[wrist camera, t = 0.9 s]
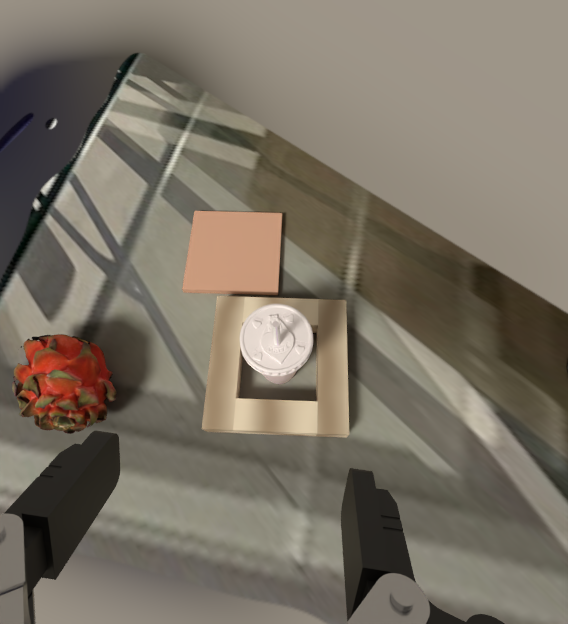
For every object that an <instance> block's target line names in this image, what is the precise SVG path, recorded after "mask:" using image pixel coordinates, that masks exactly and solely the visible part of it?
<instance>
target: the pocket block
mask: <svg viewBox="0 0 568 624" xmlns="http://www.w3.org/2000/svg"><path fill="white" fill-rule="evenodd" d="M269 304H284V305H288V306H291V307H293V308H295V309H297V310H298V311H300V312H301V313H302V314H303V315H304V316H305V317H306V318H307V320H308V321H309V323H310V325H311V328H312V332H313V333H317V353H316V401H292V400H266V399H241V398H239V395H240V384H241V372H242V360H243V355H242V351H241V347H240V332H241V328H242V326H243V323H244V322H245V320H246V319H247V317H248V316H249V315H250V314H251V313H252V312H254V311H255V310H257V309H258V308H260V307H263V306H265V305H269ZM202 429H203V430H205V431H206V432H225V433H250V434H274V435H298V436H323V437H347V436H348V435H349V403H348V359H347V315H346V300H329V299H298V298H266V297H234V296H217V304H216V312H215V321H214V329H213V337H212V346H211V354H210V363H209V371H208V380H207V388H206V397H205V405H204V414H203V422H202Z"/></svg>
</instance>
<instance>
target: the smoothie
mask: <svg viewBox="0 0 568 624" xmlns="http://www.w3.org/2000/svg"><path fill="white" fill-rule="evenodd" d="M240 347H241V351H242V355H243V357H244V358H245V360H246V361H247V363H248V364H249V365H250V366H251V367H252V368H253V369H254V370H256V371H258V372H260V373H262V374H263V375H264V376H265V378H266V379H267V380H269V381H270V382H272V383H275V384H283V383H286V382H288V381H289V380H291V379H292V378H293V376H294V375H295V373H296V371H297V370H298V369H299V368H301V367H302V366H303V365H304V364H305V362H306V361H307V360H308V358H309V356H310V354H311V352H312V348H313V332H312V328H311V325H310V323H309V321H308V320H307V318H306V317H305V316H304V315H303V314H302V313H301V312H300V311H298V310H297V309H295V308H293V307H291V306H288V305H284V304H269V305H265V306H263V307H260V308H258V309H257V310H255V311H254V312H252V313H251V314H250V315H249V316H248V317H247V319H246V320H245V322H244V323H243V326H242V328H241V332H240Z"/></svg>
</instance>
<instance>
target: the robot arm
mask: <svg viewBox="0 0 568 624" xmlns="http://www.w3.org/2000/svg"><path fill="white" fill-rule="evenodd" d="M567 370H568V366H567ZM119 475H120V453H119V437H118V435H117V434H115V433H108V432H101V431H94V432H92V433H91V434H90V435H89V436H88V438H87V439H86V440H85V441H84V442H83V443H82V445H80V444H74V445H72V446H71V447H69V448H67V449H66V450H64V451H62V452H61V453H59V454H58V456H57V457H56V458H55V459H54V460H53V461H52V462H51V463H50V464H49V467H46V469H45V470H44V471H43V472H42V473H41V474H40V476H39V477H37V478H36V479H35V480H34V482H33V483H32V484H31V485H30V486H29V487H28V488H27V489H26V490H25V491H24V492H23V493H22V495H21V496H20V497H19V498H18V499H17V500H16V501H15V502H14V503H13V504H12V505H11V506H10V508H9V509H8V510H7V511H6V512H5V513H4V514H0V624H36V622H35V604H34V590H33V589H34V587H35V586H36V584H37V583H38V581H39V580H40V579H41V577H42V578H49V579H55V580H56V578H57V577H58V575H59V573H60V572H61V571H62V569H63V568H64V566H65V564H66V563H67V561H68V560H69V558H70V557H71V555H72V554H73V552H74V551H75V549H76V547H77V546H78V544H79V543H80V541H81V540H82V538H83V537H84V535H85V534H86V532H87V530H88V529H89V527H90V526H91V524H92V523H93V521H94V520H95V518H96V516H97V515H98V513H99V512H100V510H101V509H102V507H103V506H104V504H105V503H106V501H107V499H108V498H109V496H110V495H111V493H112V492H113V490H114V488H115V487H116V484H117V482H118V479H119ZM341 529H342V545H343V560H344V576H345V591H346V607H347V623H346V624H504V623H503V622H501V621H500V620H498V619H496V618H494V617H492V616H488V615H484V614H477V615H473V616H472V617H470V618H469V619H468V620H467V622H465V621H462V620H460V619H458V618H456V617H454V616H452V615H450V614H448V613H446V612H444V611H442V610H440V609H439V608H437V607H436V606H434V605H433V604H432V603H431V602H430V601H428V599H427V597H426V595H425V593H424V592H423V590H422V589H421V588H420V587H419V585H418V584H417V583H416V581H415V578H414V574H413V570H412V566H411V562H410V557H409V553H408V549H407V545H406V541H405V536H404V533H403V528H402V524H401V521H400V515H399V511H398V507H397V503H396V502H395V500H394V499H393V497H392V496H391V495H390V493H389V492H388V490H383V489H376V486H375V481H374V475H373V472H372V471H366V470H359V469H352V468H350V470H349V473H348V478H347V483H346V488H345V493H344V498H343V503H342V511H341Z"/></svg>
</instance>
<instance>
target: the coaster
mask: <svg viewBox="0 0 568 624" xmlns="http://www.w3.org/2000/svg"><path fill="white" fill-rule="evenodd" d="M281 230H282V213H259V212H220V211H195V212H194V218H193V225H192V231H191V237H190V244H189V250H188V257H187V263H186V269H185V276H184V282H183V288H182V290H183V291H184V292H189V293H221V294H252V295H278V288H279V269H280V250H281Z"/></svg>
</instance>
